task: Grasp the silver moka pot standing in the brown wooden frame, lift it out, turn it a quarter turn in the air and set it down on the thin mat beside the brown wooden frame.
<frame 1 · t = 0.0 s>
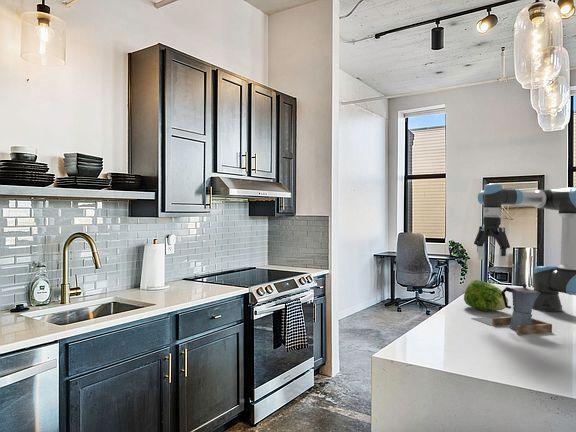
hand: (490, 261, 203), 28 cm above the kitchen island, fingers open, 13 cm apart
moka pot: (519, 329, 189), resting in brown wooden frame
brown wooden frame: (519, 328, 189), on the kitchen island
lettuce: (485, 310, 224), on the kitchen island
mat: (494, 320, 202), on the kitchen island
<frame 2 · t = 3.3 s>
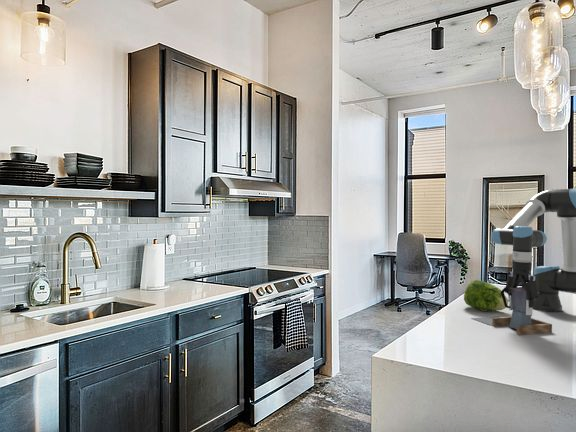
hand: (520, 312, 188), 7 cm above the kitchen island, fingers closed on moka pot, 8 cm apart
moka pot: (519, 329, 189), resting in brown wooden frame, touching gripper
everything else where it was.
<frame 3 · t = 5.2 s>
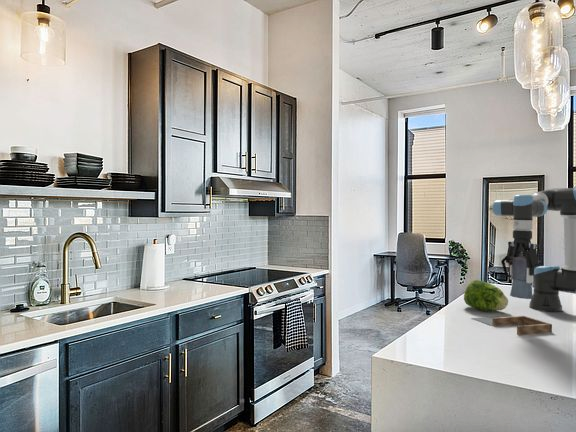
hand: (521, 281, 188), 21 cm above the kitchen island, fingers closed on moka pot, 8 cm apart
moka pot: (520, 297, 189), point 14 cm above the kitchen island, touching gripper
everything else where it was.
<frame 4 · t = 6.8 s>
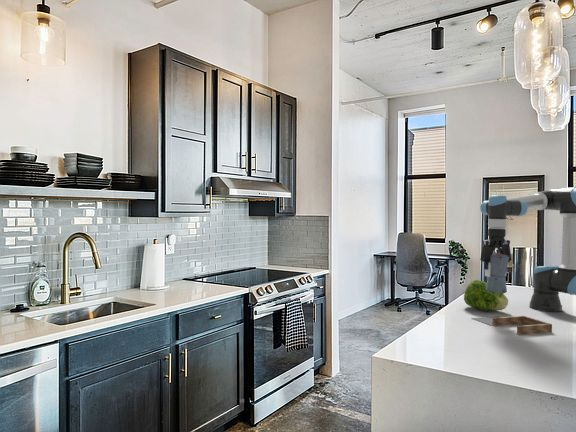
hand: (495, 276, 201), 21 cm above the kitchen island, fingers closed on moka pot, 8 cm apart
moka pot: (495, 291, 201), point 14 cm above the kitchen island, touching gripper
everything else where it was.
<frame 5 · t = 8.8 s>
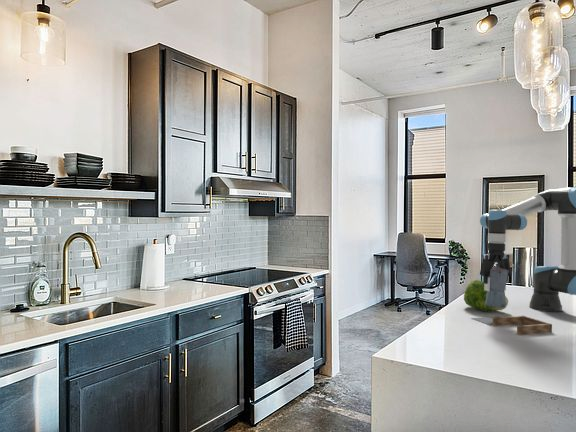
hand: (494, 290, 201), 15 cm above the kitchen island, fingers closed on moka pot, 8 cm apart
moka pot: (494, 306, 202), point 7 cm above the kitchen island, touching gripper
everything else where it was.
when the fingers open (8 cm above the kitchen island, at t = 10.7 s): moka pot moves 2 cm, resting on mat.
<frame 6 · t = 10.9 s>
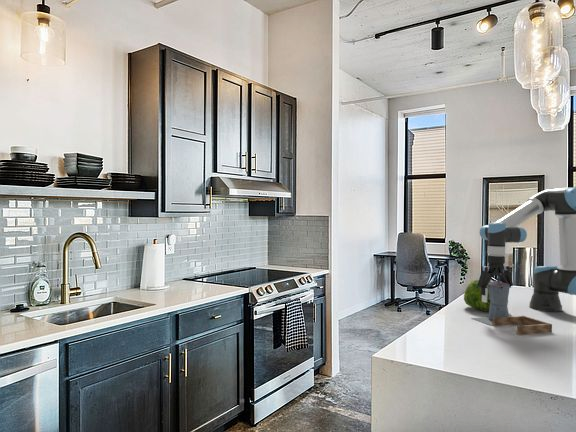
hand: (494, 301, 202), 9 cm above the kitchen island, fingers open, 11 cm apart
moka pot: (497, 320, 203), resting on mat, touching gripper
everything else where it was.
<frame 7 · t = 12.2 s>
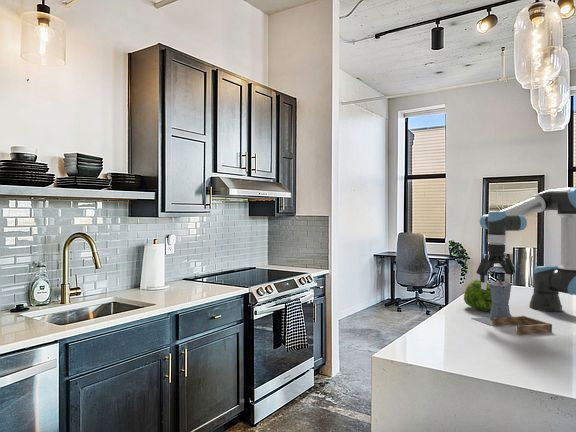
hand: (495, 288, 202), 15 cm above the kitchen island, fingers open, 13 cm apart
moka pot: (499, 319, 203), resting on mat, touching gripper
everything else where it was.
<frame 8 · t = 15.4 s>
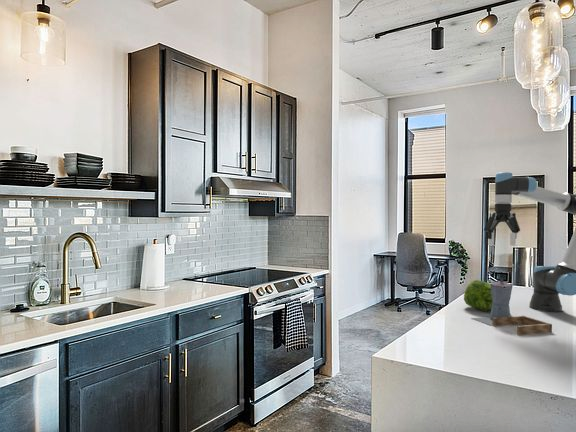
hand: (501, 245, 215), 35 cm above the kitchen island, fingers open, 13 cm apart
moka pot: (499, 320, 203), resting on mat
everything else where it was.
at the end: moka pot inside the target area on the mat (3.5 cm from its centre), point 0.0 cm above the mat's base; moka pot tilted 0°; moka pot touching mat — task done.
